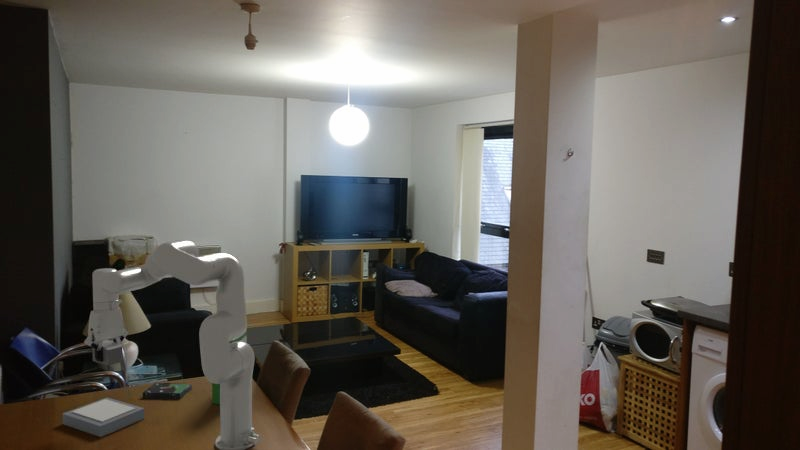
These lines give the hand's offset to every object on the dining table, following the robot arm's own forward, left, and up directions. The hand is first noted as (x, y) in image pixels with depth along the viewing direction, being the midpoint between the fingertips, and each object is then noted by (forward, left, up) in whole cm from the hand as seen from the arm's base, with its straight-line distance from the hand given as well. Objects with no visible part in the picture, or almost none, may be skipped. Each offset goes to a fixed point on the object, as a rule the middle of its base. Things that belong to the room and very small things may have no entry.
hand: (107, 358), depth 185 cm
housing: (0, 0, -1) cm, 1 cm away
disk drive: (+3, -26, -22) cm, 35 cm away
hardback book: (-19, -37, -22) cm, 47 cm away
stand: (+1, +1, -22) cm, 22 cm away
